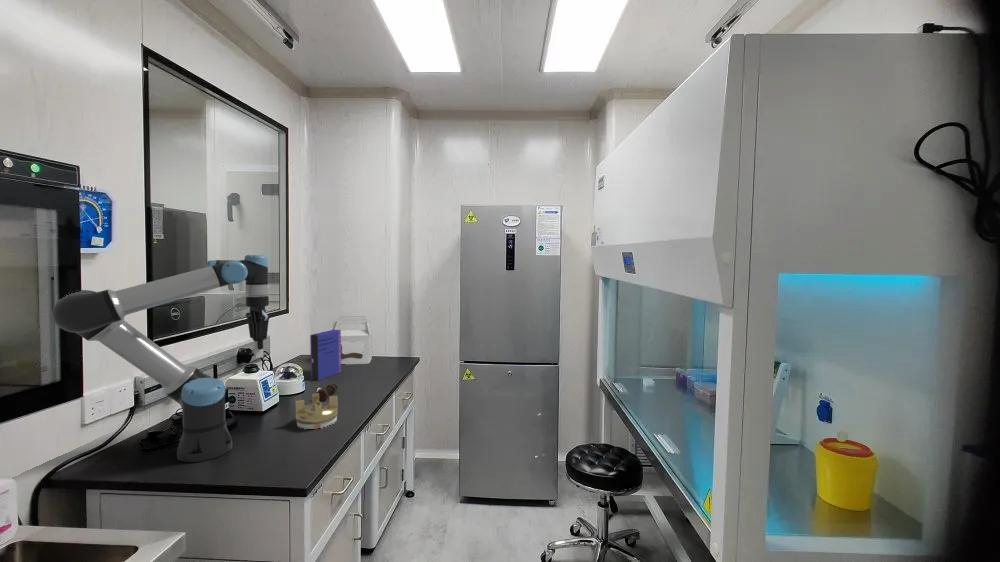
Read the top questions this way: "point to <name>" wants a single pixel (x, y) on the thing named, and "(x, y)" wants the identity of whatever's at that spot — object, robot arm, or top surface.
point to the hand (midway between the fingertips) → (258, 357)
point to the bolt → (327, 392)
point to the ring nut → (316, 410)
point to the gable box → (356, 339)
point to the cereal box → (325, 354)
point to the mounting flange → (318, 425)
